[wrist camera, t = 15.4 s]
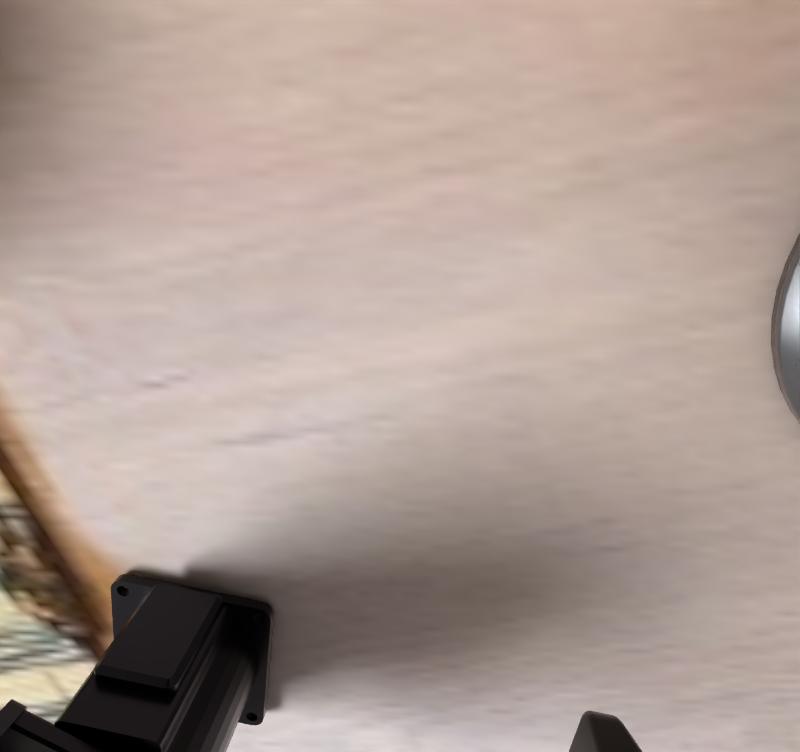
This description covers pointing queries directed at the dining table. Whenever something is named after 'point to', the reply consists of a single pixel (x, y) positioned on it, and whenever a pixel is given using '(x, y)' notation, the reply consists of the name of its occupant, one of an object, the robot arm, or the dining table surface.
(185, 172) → the dining table surface
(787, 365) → the collar
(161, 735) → the robot arm
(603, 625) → the dining table surface
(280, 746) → the dining table surface
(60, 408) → the dining table surface
